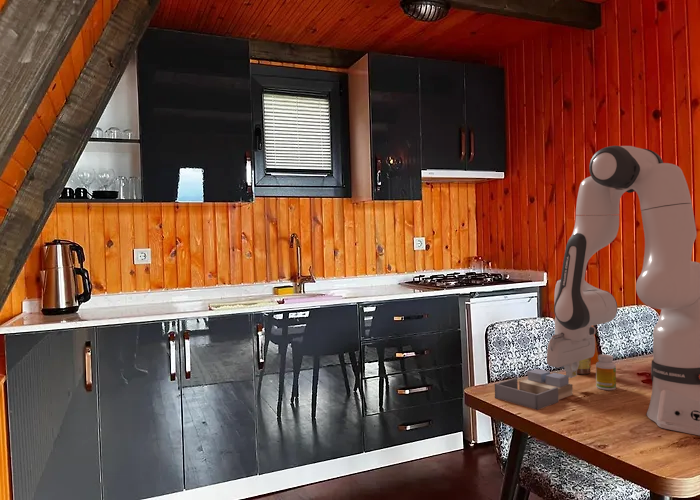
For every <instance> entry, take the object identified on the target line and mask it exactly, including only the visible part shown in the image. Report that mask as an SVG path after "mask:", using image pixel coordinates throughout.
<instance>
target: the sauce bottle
mask: <svg viewBox="0 0 700 500" xmlns="http://www.w3.org/2000/svg"><path fill="white" fill-rule="evenodd" d="M591 368H592V361H591V358H588V359H584V360H581V361H579V367H578V369H577V375H588V374H590V373H591Z"/></svg>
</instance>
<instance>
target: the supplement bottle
mask: <svg viewBox="0 0 700 500" xmlns="http://www.w3.org/2000/svg"><path fill="white" fill-rule="evenodd" d="M597 359H598V361H597V362H596V363H595V386H596V388H597V389H599V390H602V391H603V390H604V391H613V390H616V389H617V366H616V364H615V363H614V356H613V355H611V354H607V353H606V354H604V353H603V354H602V353H601V354H598V357H597Z"/></svg>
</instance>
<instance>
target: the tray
mask: <svg viewBox="0 0 700 500" xmlns="http://www.w3.org/2000/svg"><path fill="white" fill-rule="evenodd" d="M494 398H495V399H498V400H501V401H506V402H507V403H511V404H515V405H519V406H522V407H525V408H530V409H532V410H537V411H539V410H541V409H544V408H546V407H550V406H551V405H555V404H557V403H559V400H558V388H557V387H556V388H553V389H550V390H547V391H544V392H541V393H539V394H534V393H530V392H526V391H522V390H519V383H518V377H513V378H510V379H507V380H503V381H500V382H498V383H497V382H496V383H495V384H494Z"/></svg>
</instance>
